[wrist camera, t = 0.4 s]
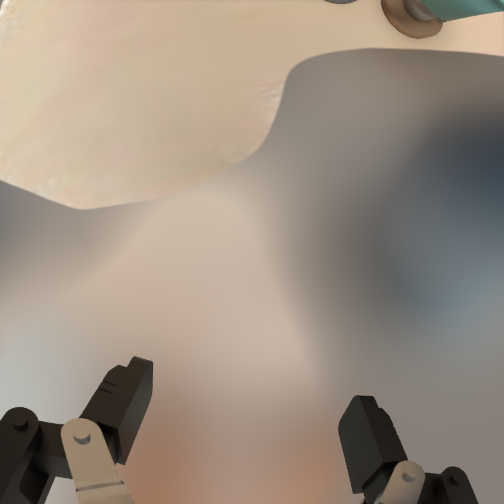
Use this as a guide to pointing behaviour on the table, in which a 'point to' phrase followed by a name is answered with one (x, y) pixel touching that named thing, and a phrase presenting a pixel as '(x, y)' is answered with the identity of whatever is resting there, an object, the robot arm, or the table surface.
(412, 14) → the post
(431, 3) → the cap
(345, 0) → the pad
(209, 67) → the table surface
